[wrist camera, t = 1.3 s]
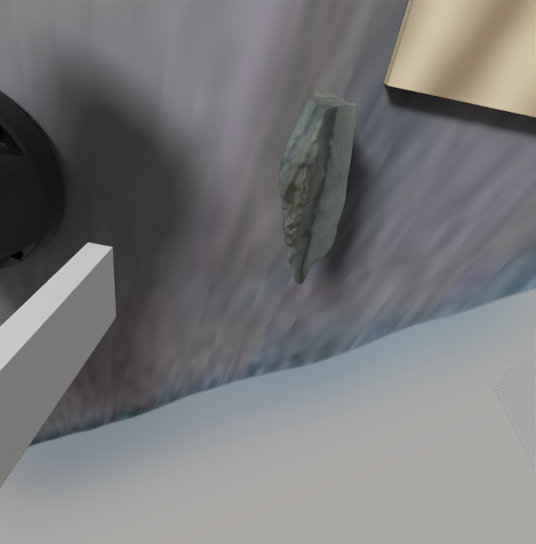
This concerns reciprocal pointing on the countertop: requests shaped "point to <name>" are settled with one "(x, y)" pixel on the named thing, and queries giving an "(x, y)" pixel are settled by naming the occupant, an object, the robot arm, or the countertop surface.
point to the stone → (316, 178)
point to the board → (469, 52)
